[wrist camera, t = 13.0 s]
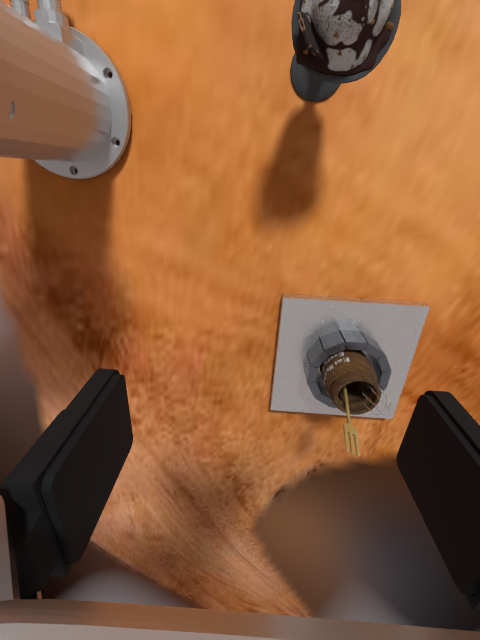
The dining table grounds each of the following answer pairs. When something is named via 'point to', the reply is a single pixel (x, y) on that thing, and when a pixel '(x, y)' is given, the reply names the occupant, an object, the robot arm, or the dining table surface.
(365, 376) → the utensil holder
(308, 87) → the sundae
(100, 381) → the robot arm
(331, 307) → the collar stand
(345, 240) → the dining table surface
